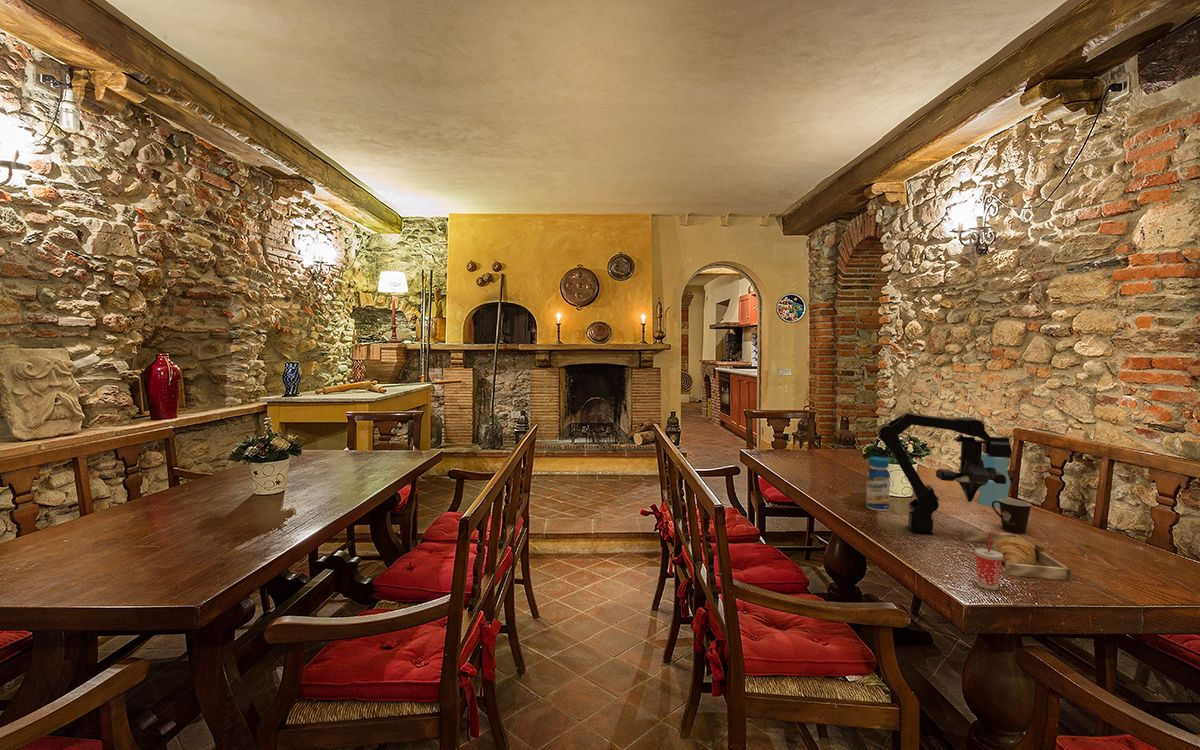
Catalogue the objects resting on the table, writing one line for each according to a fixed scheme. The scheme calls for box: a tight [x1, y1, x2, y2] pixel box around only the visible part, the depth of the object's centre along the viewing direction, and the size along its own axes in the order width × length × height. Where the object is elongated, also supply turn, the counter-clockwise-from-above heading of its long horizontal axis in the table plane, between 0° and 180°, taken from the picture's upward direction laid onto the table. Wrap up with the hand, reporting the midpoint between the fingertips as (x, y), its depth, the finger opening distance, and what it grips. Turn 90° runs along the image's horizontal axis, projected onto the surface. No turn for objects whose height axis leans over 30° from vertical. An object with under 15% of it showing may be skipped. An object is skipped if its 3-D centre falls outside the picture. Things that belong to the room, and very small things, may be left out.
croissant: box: [992, 537, 1036, 565], centre depth 157 cm, size 21×10×8 cm, turn 140°
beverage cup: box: [974, 534, 1003, 591], centre depth 139 cm, size 6×6×14 cm
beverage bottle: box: [865, 456, 891, 512], centre depth 206 cm, size 8×8×20 cm
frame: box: [963, 530, 1072, 581], centre depth 158 cm, size 15×28×4 cm, turn 166°
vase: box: [977, 453, 1012, 509], centre depth 212 cm, size 8×8×20 cm
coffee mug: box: [991, 498, 1032, 535], centre depth 183 cm, size 12×9×10 cm
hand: (969, 501), depth 175 cm, fingers closed
